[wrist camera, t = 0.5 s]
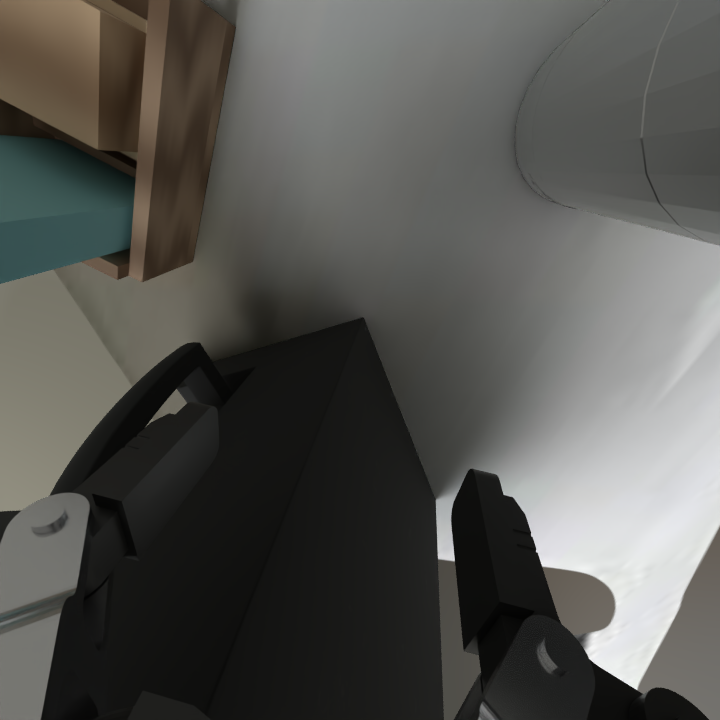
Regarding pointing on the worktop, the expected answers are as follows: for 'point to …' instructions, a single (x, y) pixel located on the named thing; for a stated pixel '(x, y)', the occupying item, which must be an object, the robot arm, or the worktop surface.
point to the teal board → (59, 206)
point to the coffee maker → (282, 543)
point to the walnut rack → (162, 134)
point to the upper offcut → (74, 69)
